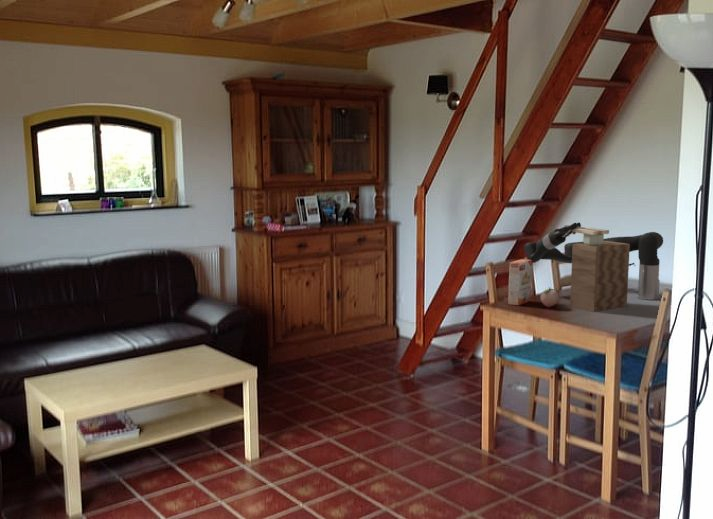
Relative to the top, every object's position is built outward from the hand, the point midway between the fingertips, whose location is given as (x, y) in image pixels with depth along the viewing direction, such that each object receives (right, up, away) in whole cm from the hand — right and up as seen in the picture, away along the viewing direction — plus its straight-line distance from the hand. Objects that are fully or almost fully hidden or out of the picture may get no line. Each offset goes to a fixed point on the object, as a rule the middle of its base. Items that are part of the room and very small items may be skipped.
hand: (578, 224), depth 347 cm
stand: (+10, -39, +1) cm, 40 cm away
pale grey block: (+5, -10, -7) cm, 13 cm away
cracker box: (-26, -38, +9) cm, 47 cm away
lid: (+2, -4, -2) cm, 5 cm away
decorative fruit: (-14, -40, -2) cm, 42 cm away
